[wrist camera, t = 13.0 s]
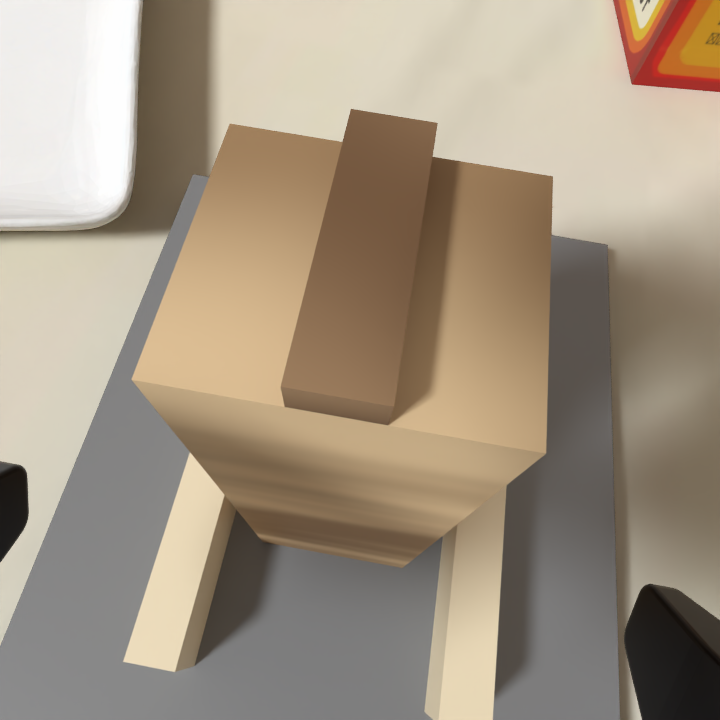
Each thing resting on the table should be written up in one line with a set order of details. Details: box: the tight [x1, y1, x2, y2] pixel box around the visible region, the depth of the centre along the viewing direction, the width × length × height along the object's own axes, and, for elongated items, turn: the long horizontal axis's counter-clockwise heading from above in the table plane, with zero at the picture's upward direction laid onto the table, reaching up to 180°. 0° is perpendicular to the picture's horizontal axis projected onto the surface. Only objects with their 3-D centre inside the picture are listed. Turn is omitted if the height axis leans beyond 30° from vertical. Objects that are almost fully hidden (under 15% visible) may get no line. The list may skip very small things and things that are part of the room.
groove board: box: [0, 174, 620, 720], centre depth 16 cm, size 22×16×3 cm
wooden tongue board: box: [131, 109, 553, 568], centre depth 11 cm, size 4×4×12 cm
